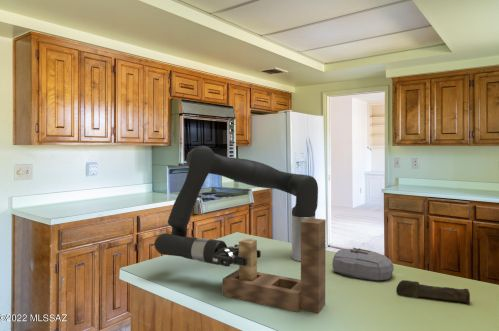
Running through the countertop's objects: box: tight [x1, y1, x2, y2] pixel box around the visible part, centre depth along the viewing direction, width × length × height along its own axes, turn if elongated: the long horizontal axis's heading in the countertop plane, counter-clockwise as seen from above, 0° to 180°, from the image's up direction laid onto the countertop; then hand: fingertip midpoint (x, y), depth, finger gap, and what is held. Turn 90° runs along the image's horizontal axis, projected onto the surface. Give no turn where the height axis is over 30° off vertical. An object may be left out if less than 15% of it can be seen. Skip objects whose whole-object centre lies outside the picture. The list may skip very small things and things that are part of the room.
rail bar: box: [238, 238, 258, 282], centre depth 108 cm, size 4×4×15 cm
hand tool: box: [395, 279, 471, 305], centre depth 104 cm, size 19×4×5 cm, turn 69°
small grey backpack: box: [331, 247, 395, 281], centre depth 125 cm, size 15×8×20 cm
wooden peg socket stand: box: [222, 218, 327, 314], centre depth 104 cm, size 29×10×24 cm, turn 61°
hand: (253, 258), depth 107 cm, fingers open, 8 cm apart
